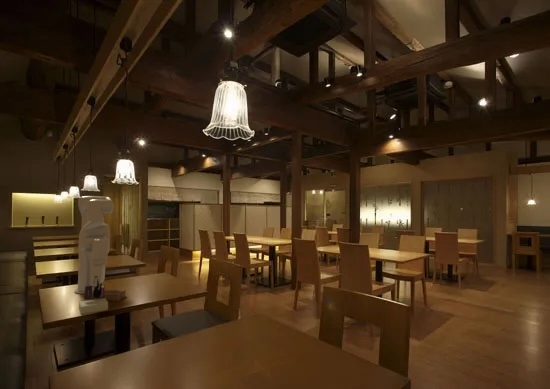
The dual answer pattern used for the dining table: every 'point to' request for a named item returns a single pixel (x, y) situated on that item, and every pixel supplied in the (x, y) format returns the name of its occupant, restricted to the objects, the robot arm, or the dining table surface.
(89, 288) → the purple printed box
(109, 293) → the walnut block
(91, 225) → the robot arm
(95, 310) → the sage block
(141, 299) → the dining table surface
